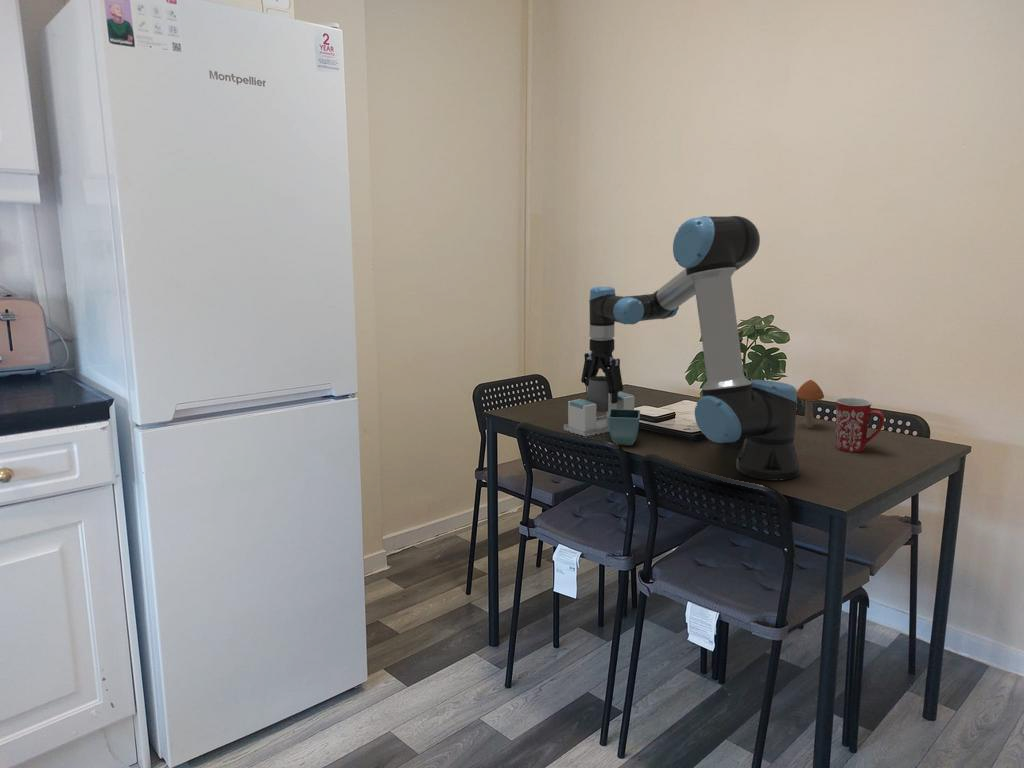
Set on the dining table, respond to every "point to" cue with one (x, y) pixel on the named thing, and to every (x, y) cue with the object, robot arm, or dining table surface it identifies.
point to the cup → (598, 393)
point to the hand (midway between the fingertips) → (601, 409)
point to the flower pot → (623, 425)
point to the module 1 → (581, 415)
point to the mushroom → (809, 400)
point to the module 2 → (624, 402)
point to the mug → (854, 423)
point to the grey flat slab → (601, 427)
